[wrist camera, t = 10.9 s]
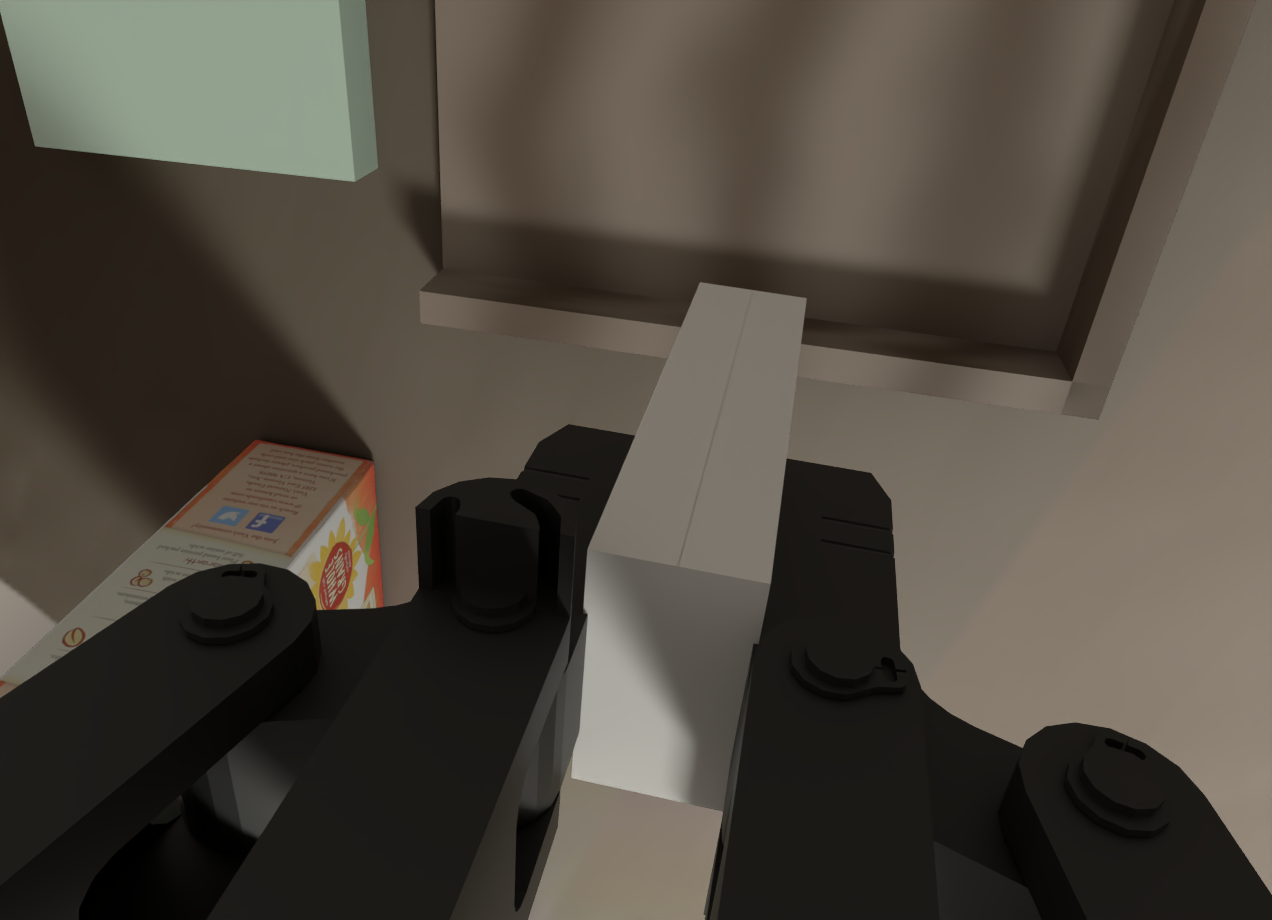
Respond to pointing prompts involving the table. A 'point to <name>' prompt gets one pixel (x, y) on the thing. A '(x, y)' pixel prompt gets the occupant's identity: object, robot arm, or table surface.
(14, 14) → the cover plate
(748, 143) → the slide box
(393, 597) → the table surface
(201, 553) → the cracker box
